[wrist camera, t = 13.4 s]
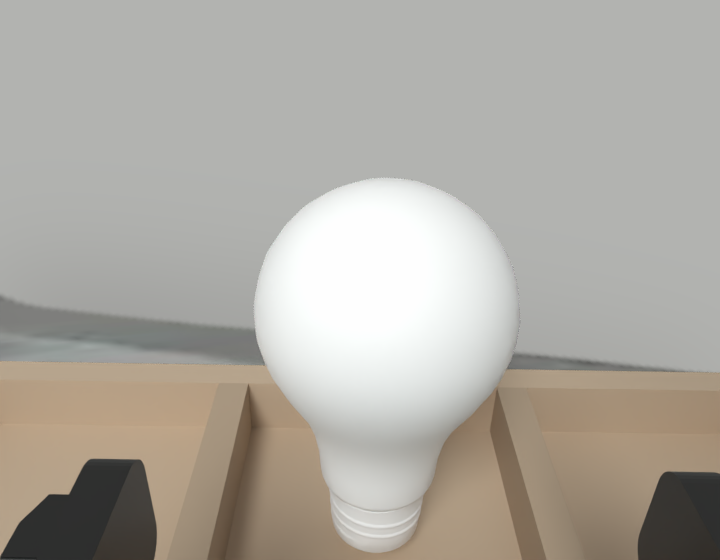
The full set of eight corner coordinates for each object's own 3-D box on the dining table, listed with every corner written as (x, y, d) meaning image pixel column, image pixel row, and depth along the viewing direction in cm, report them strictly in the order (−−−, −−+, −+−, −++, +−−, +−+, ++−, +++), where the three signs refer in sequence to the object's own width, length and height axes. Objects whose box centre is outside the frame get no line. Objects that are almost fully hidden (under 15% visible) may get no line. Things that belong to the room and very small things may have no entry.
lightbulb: (380, 430, 23) (397, 127, 17) (520, 544, 19) (601, 198, 13) (230, 522, 19) (190, 177, 14) (364, 686, 15) (384, 295, 10)
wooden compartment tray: (756, 435, 24) (784, 373, 23) (992, 749, 15) (1064, 680, 14) (-23, 424, 24) (-47, 360, 22) (-255, 738, 15) (-320, 665, 13)
